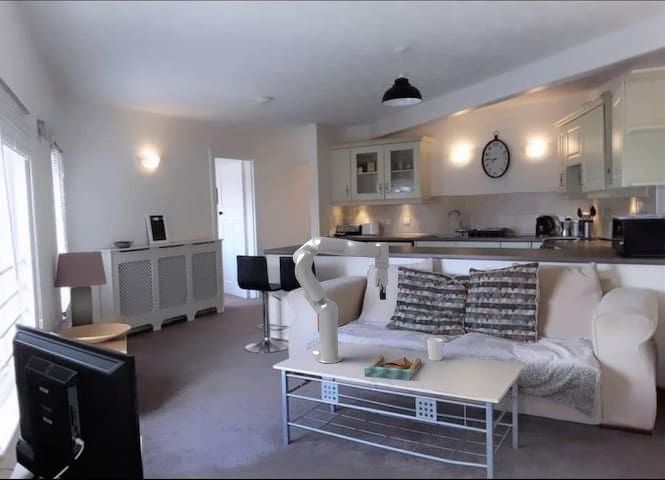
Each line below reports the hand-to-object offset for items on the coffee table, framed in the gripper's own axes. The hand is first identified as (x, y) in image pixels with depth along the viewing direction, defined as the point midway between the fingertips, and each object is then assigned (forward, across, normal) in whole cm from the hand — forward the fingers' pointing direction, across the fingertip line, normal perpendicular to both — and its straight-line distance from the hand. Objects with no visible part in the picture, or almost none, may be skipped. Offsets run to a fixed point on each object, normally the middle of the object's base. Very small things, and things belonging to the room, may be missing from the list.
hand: (382, 299), depth 264 cm
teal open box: (+29, +27, +12) cm, 41 cm away
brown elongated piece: (+30, +24, +14) cm, 41 cm away
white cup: (+29, +4, +28) cm, 41 cm away
